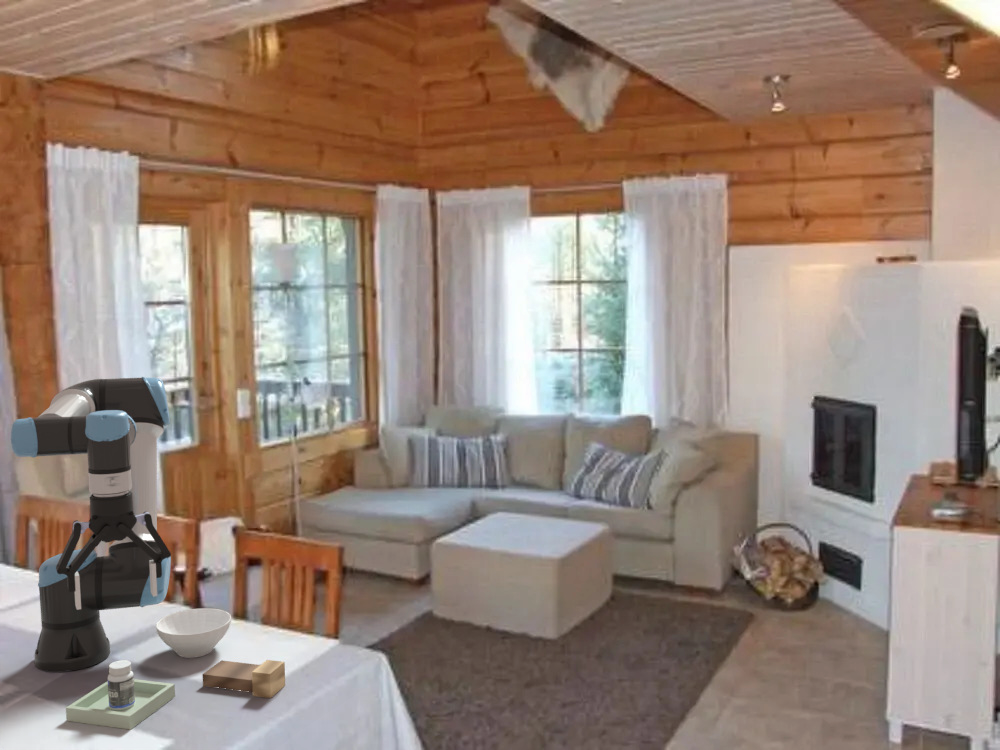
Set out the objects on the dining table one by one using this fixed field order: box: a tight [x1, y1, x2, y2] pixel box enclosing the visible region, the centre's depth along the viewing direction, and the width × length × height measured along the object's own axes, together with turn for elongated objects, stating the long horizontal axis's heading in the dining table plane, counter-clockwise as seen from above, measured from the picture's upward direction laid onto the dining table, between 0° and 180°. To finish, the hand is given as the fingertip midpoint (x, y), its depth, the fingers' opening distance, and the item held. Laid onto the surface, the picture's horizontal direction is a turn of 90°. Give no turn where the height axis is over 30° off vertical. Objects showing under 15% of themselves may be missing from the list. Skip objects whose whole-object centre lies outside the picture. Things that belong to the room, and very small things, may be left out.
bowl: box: [155, 607, 232, 659], centre depth 208 cm, size 16×16×7 cm
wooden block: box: [252, 659, 286, 699], centre depth 188 cm, size 4×6×5 cm, turn 165°
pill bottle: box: [107, 659, 135, 710], centre depth 181 cm, size 5×5×8 cm
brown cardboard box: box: [202, 659, 261, 693], centre depth 193 cm, size 12×7×3 cm, turn 74°
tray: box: [65, 678, 176, 730], centre depth 181 cm, size 14×14×3 cm
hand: (116, 600), depth 179 cm, fingers open, 13 cm apart
